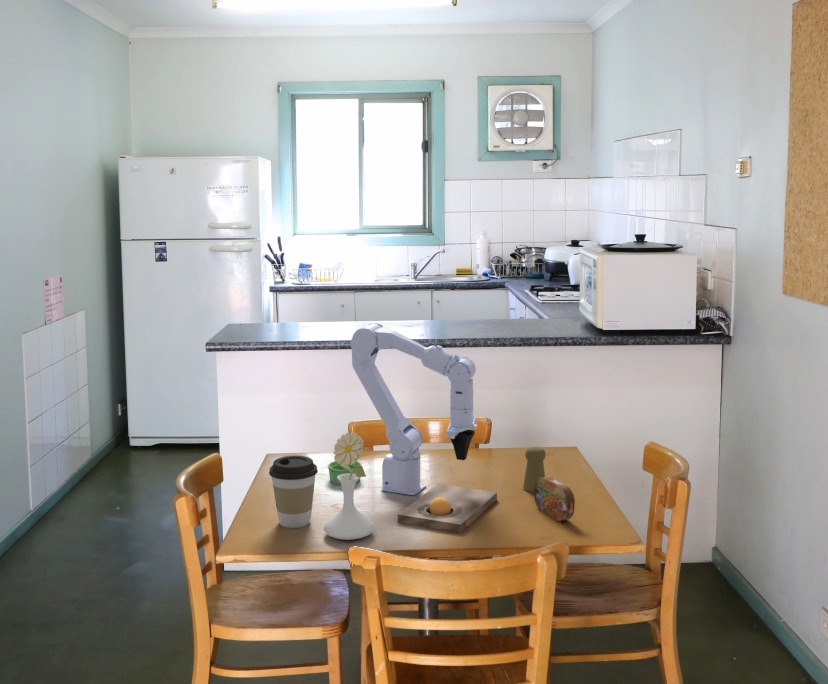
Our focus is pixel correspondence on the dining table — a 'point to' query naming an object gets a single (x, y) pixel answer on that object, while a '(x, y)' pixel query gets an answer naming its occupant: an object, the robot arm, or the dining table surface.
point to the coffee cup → (293, 489)
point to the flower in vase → (349, 492)
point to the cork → (533, 467)
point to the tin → (554, 498)
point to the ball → (440, 506)
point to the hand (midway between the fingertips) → (461, 459)
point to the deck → (462, 512)
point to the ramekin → (340, 471)
